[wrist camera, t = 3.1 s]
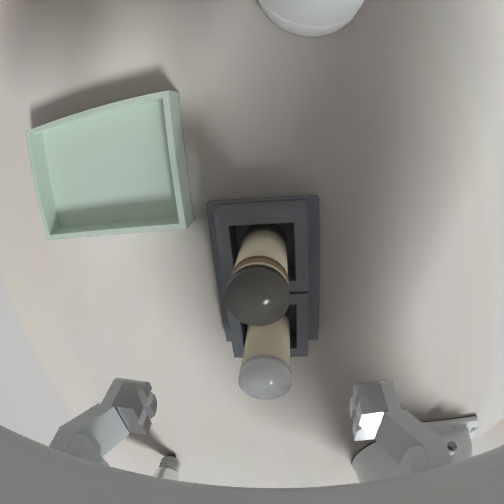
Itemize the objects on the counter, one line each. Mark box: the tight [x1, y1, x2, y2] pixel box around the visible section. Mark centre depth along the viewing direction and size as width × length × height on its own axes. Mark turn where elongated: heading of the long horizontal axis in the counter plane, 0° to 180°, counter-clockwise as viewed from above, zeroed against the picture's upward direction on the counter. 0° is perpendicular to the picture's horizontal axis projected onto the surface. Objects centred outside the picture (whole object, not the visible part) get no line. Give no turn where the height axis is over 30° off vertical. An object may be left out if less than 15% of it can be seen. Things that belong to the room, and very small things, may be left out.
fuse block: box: [206, 195, 319, 357], centre depth 27 cm, size 9×14×4 cm, turn 5°
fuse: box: [239, 307, 291, 399], centre depth 25 cm, size 4×4×9 cm
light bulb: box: [153, 455, 180, 481], centre depth 39 cm, size 7×7×12 cm
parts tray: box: [26, 90, 194, 240], centre depth 25 cm, size 15×11×2 cm
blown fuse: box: [225, 223, 289, 326], centre depth 23 cm, size 4×4×9 cm
